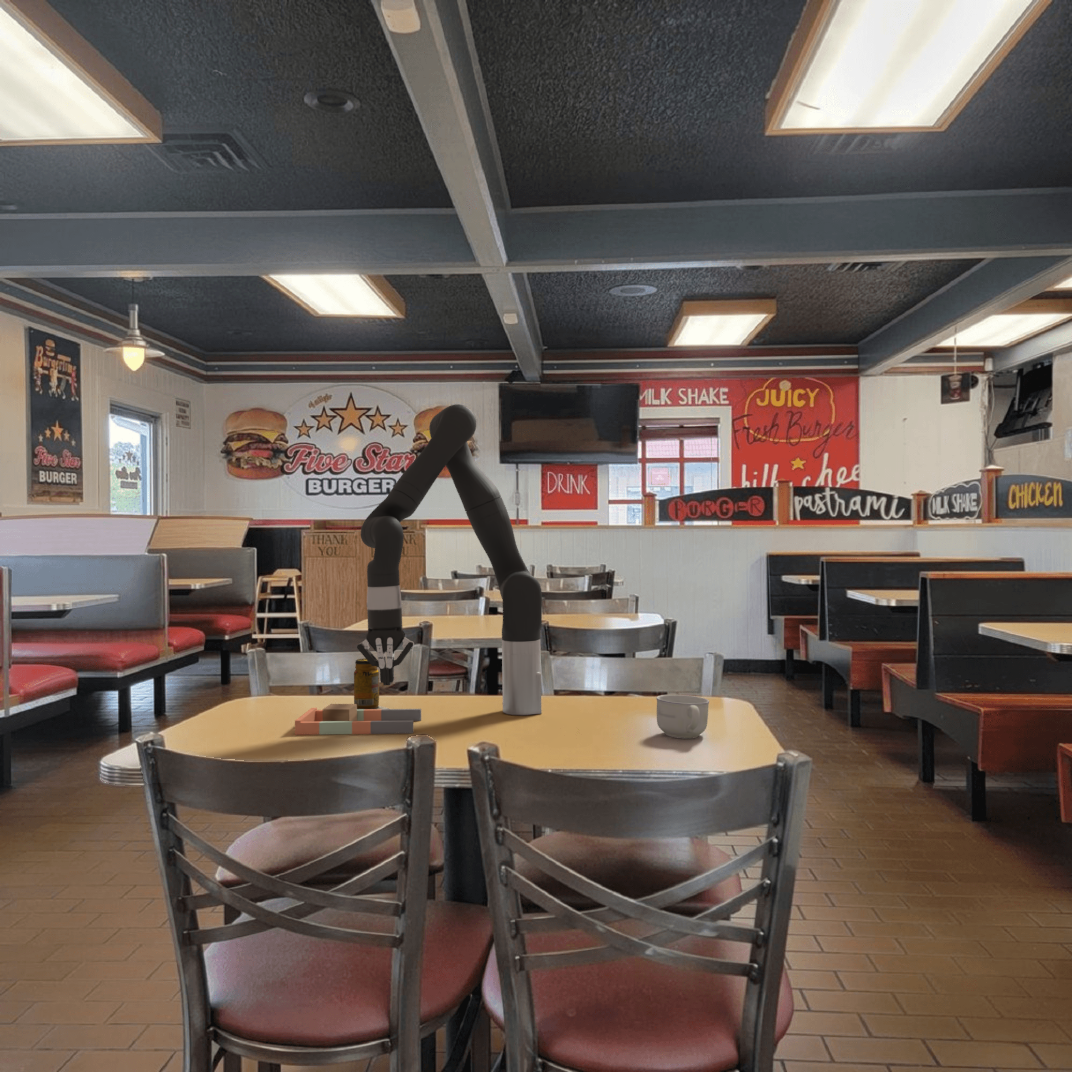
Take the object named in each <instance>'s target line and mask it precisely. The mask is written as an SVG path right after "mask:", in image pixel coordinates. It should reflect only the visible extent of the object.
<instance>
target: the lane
mask: <svg viewBox="0 0 1072 1072" xmlns="http://www.w3.org/2000/svg"><path fill="white" fill-rule="evenodd" d="M419 721H420V722H421V721H422V708H389V709H357V721H323V709H318V708H317V707H311V708H309V709H308V710H307V711H305V712H304V713H302V715H300V716H299V717H298V718H296V719H295V720H294V735H295V736H296V735H298V736H299V735H367V734H368V735H370V734H371V735H374V734H375V735H378V734H381V735H382V734H385V735H386V734H388V735H389V734H393V735H394V734H414V722H419Z"/></svg>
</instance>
